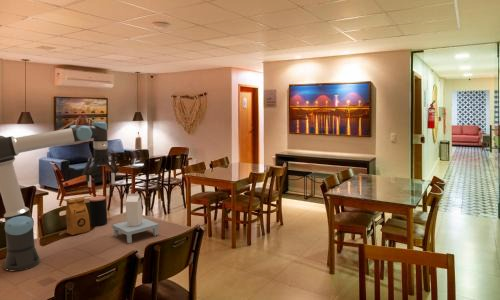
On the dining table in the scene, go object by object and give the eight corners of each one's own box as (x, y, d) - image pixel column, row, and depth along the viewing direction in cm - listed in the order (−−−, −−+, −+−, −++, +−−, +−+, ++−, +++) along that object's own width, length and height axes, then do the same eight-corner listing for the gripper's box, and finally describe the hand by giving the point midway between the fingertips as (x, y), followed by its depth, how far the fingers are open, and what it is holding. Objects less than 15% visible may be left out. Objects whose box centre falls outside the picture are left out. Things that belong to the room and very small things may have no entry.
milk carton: (138, 226, 218) (137, 195, 216) (126, 226, 218) (125, 195, 216) (142, 222, 225) (141, 192, 223) (131, 222, 225) (129, 192, 223)
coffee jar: (110, 221, 251) (108, 196, 249) (102, 226, 241) (100, 200, 239) (95, 221, 252) (93, 196, 250) (87, 226, 242) (85, 199, 240)
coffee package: (92, 231, 231) (89, 197, 228) (71, 237, 222) (68, 201, 219) (85, 228, 238) (83, 195, 235) (65, 233, 229) (63, 199, 226)
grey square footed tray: (128, 243, 209) (127, 232, 208) (112, 235, 223) (112, 224, 222) (159, 235, 223) (158, 224, 222) (142, 228, 237) (142, 217, 236)
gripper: (80, 150, 197) (81, 189, 199) (124, 147, 215) (125, 183, 217) (75, 149, 202) (76, 187, 204) (118, 147, 220) (119, 181, 222)
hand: (101, 185), depth 210 cm, fingers open, 13 cm apart
